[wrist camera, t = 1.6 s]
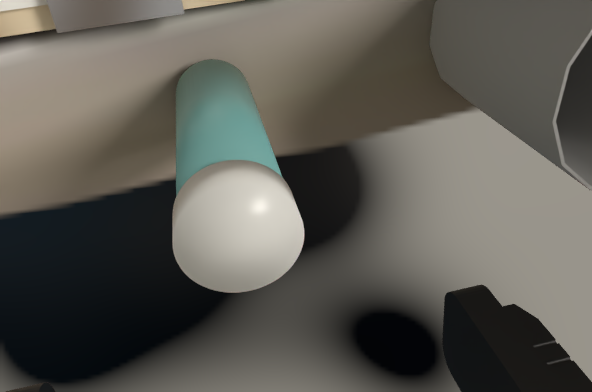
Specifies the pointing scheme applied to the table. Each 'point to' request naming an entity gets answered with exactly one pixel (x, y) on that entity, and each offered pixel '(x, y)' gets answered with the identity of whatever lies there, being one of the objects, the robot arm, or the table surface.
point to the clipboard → (86, 13)
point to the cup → (524, 70)
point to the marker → (229, 186)
